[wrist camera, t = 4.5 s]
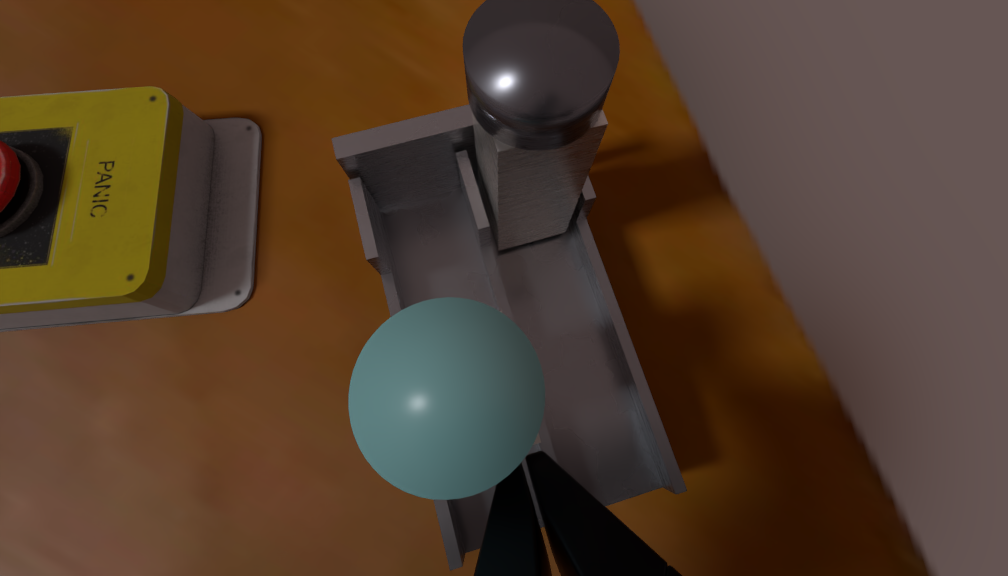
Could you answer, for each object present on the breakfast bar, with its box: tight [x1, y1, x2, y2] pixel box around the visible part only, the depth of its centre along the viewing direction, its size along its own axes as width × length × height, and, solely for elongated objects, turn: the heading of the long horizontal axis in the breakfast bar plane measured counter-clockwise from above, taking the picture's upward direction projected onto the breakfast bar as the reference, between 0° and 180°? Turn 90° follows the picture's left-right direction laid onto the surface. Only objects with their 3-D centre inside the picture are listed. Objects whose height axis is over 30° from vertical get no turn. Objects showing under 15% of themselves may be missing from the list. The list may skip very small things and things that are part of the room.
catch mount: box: [332, 0, 687, 570], centre depth 13 cm, size 14×8×10 cm, turn 17°
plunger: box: [349, 297, 545, 500], centre depth 11 cm, size 3×3×8 cm
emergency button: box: [0, 86, 262, 332], centre depth 17 cm, size 9×4×15 cm
